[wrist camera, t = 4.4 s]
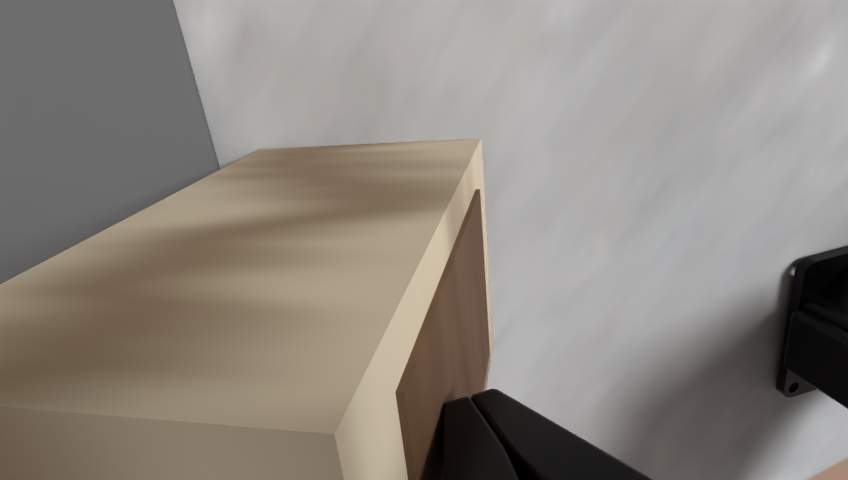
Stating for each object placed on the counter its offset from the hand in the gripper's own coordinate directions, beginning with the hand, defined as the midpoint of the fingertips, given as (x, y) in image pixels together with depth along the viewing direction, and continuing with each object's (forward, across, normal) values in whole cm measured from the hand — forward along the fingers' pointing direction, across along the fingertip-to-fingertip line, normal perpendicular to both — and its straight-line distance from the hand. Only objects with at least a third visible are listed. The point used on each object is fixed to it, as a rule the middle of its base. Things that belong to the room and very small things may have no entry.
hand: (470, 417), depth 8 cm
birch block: (+7, 0, 0) cm, 7 cm away
